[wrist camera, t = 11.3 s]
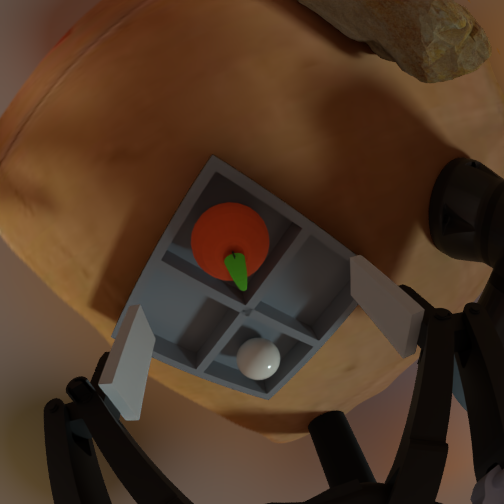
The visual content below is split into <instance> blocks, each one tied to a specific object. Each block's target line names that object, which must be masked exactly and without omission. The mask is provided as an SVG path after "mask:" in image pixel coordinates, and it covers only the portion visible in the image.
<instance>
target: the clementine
mask: <svg viewBox="0 0 504 504" xmlns="http://www.w3.org/2000/svg"><path fill="white" fill-rule="evenodd" d="M191 247H192V252H193V256H194V258H195V260H196V262H197V264H198V265H199V266H200V267H201V268H202V269H203V270H204V271H205V272H206V273H208V274H209V275H211V276H213V277H214V278H217V279H221V280H225V281H234V282H235V283H236V285H237V286H238V287H239V289H240V290H242V291H245V290H246V289H247V277H248V276H250V275H251V274H253V273H254V272H255V271H257V270H258V268H259V267H260V266H261V265H262V263H263V262H264V260H265V258H266V256H267V254H268V250H269V233H268V230H267V227H266V225H265V222H264V221H263V219H262V218H261V217H260V215H259V214H258V213H257V212H255V211H254V210H253V209H251V208H250V207H248V206H245V205H242V204H240V203H233V202H226V203H220V204H217V205H215V206H213V207H210V208H209V209H208V210H206V211H205V212H204V213H203V214H202V215H201V216H200V218H199V219H198V220H197V222H196V223H195V225H194V228H193V231H192V233H191Z"/></svg>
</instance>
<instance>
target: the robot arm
mask: <svg viewBox="0 0 504 504" xmlns="http://www.w3.org/2000/svg"><path fill="white" fill-rule="evenodd" d="M429 226H430V232H431V236H432V239H433V241H434V243H435V245H436V247H437V248H438V249H439V250H440V251H441V252H443V253H445V254H446V255H448V256H450V257H451V258H454V259H458V260H466V261H474V262H483V263H485V264H487V265H489V266H490V267H492V268H493V271H492V273H491V275H490V278H489V280H488V282H487V284H486V286H485V288H484V290H483V292H482V294H481V296H480V298H479V300H478V302H477V303H473V302H471V303H467V304H466V305H465V307H464V310H463V312H461V313H455V314H452V313H451V312H450V311H449V310H447V309H444V308H436V309H435V308H434V307H433V306H432V305H431V304H429V303H428V302H427V301H426V300H425V299H424V298H422V297H421V296H420V295H419V294H418V293H416V292H415V291H414V290H413V289H412V288H411V287H408V286H406V285H403V284H402V285H400V286H397V285H396V284H395V283H394V282H393V281H392V280H390V279H389V278H388V277H387V276H386V275H385V274H383V273H382V272H381V271H380V270H379V269H377V268H376V267H375V266H374V265H373V264H371V263H370V262H369V261H368V260H366V259H365V258H364V257H363V256H362V255H358V256H354V257H350V276H351V296H352V297H353V298H354V299H355V301H356V302H357V303H358V304H359V305H360V306H361V308H362V309H363V310H364V311H365V312H366V314H367V315H368V316H369V317H370V318H371V320H372V321H373V322H374V323H375V324H376V326H377V327H378V328H379V329H380V330H381V332H382V333H383V334H384V335H385V337H386V338H387V339H388V340H389V342H390V343H391V344H392V345H393V346H394V348H395V349H396V350H397V351H398V353H399V354H400V355H401V357H402V358H406V357H408V356H410V355H412V354H414V353H415V352H416V347H417V345H418V346H419V347H420V348H421V352H420V356H419V360H418V363H417V364H418V370H417V376H416V381H415V387H414V391H413V396H412V401H411V405H410V409H409V414H408V417H407V421H406V425H405V428H404V432H403V435H402V439H401V442H400V445H399V448H398V451H397V454H396V457H395V460H394V463H393V466H392V468H391V470H390V473H389V475H388V477H387V479H386V481H385V484H384V483H377V482H365V483H359V480H358V479H355V480H352V481H350V482H347V483H344V484H341V485H338V486H335V487H332V488H330V489H328V490H326V491H324V492H323V493H321V494H319V495H317V496H315V497H313V498H311V499H309V500H307V501H305V502H298V503H297V502H296V503H267V504H442V503H438V502H435V499H436V496H437V493H438V490H439V486H440V483H441V479H442V475H443V471H444V467H445V463H446V458H447V454H448V444H447V443H446V435H447V429H448V422H449V416H450V407H451V399H452V393H453V395H454V396H455V398H456V399H457V401H458V402H459V403H460V404H461V406H462V407H463V408H464V409H465V410H466V411H467V412H468V418H469V425H470V433H471V441H472V450H473V463H474V471H475V476H476V480H477V483H476V485H475V487H474V489H473V492H472V496H471V501H472V504H504V179H503V178H501V177H500V176H499V175H497V174H496V173H495V172H493V171H492V170H491V169H489V168H488V167H486V166H485V165H483V164H482V163H481V162H479V161H476V160H473V159H468V158H457V159H454V160H452V161H451V162H450V163H448V164H447V165H446V166H445V168H444V169H443V170H442V172H441V173H440V175H439V177H438V179H437V181H436V183H435V186H434V189H433V192H432V196H431V201H430V208H429ZM154 344H155V337H154V334H153V332H152V330H151V328H150V326H149V323H148V321H147V319H146V316H145V314H144V312H143V309H142V307H141V305H140V304H138V305H133V306H129V308H128V310H127V313H126V315H125V317H124V320H123V322H122V324H121V327H120V329H119V331H118V334H117V336H116V339H115V341H114V343H113V346H112V348H111V351H110V352H105V353H104V354H103V355H102V357H101V358H100V359H99V362H98V364H97V367H96V369H95V372H94V374H93V377H92V380H91V382H89V381H88V379H87V378H85V377H82V376H81V377H76V378H74V379H73V380H71V381H70V382H69V383H68V385H67V387H66V393H67V394H68V395H69V397H70V398H71V399H72V400H73V402H71V403H68V404H64V403H63V401H62V400H60V399H57V398H55V399H52V400H50V401H49V402H48V403H47V404H46V406H45V407H44V432H45V446H46V456H47V465H48V472H49V479H50V484H51V490H52V495H53V500H54V504H112V503H111V500H110V497H109V494H108V492H107V489H106V486H105V483H104V480H103V477H102V474H101V470H100V467H99V464H98V460H97V457H96V453H95V449H94V445H93V441H92V437H93V439H94V440H95V442H96V444H97V446H98V447H99V449H100V451H101V452H102V453H103V456H104V457H105V459H106V460H107V462H108V463H109V465H110V467H111V468H112V470H113V471H114V473H115V474H116V475H117V477H118V478H119V480H120V481H121V482H122V484H123V485H124V487H125V488H126V489H127V490H128V492H129V493H130V495H131V496H132V497H133V499H134V500H135V501H136V502H137V504H194V503H192V502H191V501H190V500H189V499H188V498H187V497H186V496H185V495H184V494H183V493H182V492H181V491H180V490H179V489H178V488H177V487H176V486H175V485H174V484H173V483H172V482H171V481H170V480H169V479H168V478H167V477H166V476H165V475H164V474H163V473H162V472H161V470H160V469H159V468H158V467H157V466H156V465H155V464H154V463H153V462H152V460H151V459H150V458H149V457H148V456H147V455H146V453H145V452H144V451H143V450H142V449H141V447H140V446H139V445H138V444H137V442H136V441H135V440H134V439H133V437H132V436H131V435H130V433H129V432H128V431H127V430H126V428H125V427H124V425H123V424H122V423H121V422H120V420H119V418H120V414H121V415H122V416H123V417H124V418H125V420H139V418H140V413H141V407H142V401H143V396H144V391H145V386H146V381H147V376H148V371H149V366H150V361H151V357H152V352H153V348H154Z"/></svg>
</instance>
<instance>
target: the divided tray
mask: <svg viewBox="0 0 504 504" xmlns="http://www.w3.org/2000/svg"><path fill="white" fill-rule="evenodd" d="M226 202H233V203H240V204H242V205H245V206H248V207H250V208H251V209H253V210H254V211H255V212H257V213H258V214H259V215H260V217H261V218H262V219H263V221H264V222H265V225H266V227H267V230H268V233H269V250H268V254H267V256H266V258H265V260H264V262H263V263H262V265H261V266H260V267H259V268H258V270H257V271H255V272H254V273H253V274H251V275H250V276H248V277H247V289H246V290H245V291H242V290H240V289H239V287H238V286H237V285H236V283H235V282H234V281H225V280H221V279H217V278H214V277H213V276H211V275H209V274H208V273H206V272H205V271H204V270H203V269H202V268H201V267H200V266H199V265H198V264H197V262H196V260H195V258H194V256H193V252H192V247H191V233H192V231H193V228H194V225H195V223H196V222H197V220H198V219H199V218H200V216H201V215H202V214H203V213H204V212H205V211H206V210H208V209H209V208H210V207H213V206H215V205H217V204H220V203H226ZM354 256H357V255H356V254H355V253H353V252H352V251H351V250H350V249H348V248H347V247H346V246H344V245H343V244H342V243H340V242H339V241H338V240H336V239H335V238H334V237H332V236H331V235H330V234H328V233H327V232H326V231H324V230H323V229H322V228H320V227H319V226H318V225H316V224H315V223H314V222H312V221H311V220H309V219H308V218H307V217H305V216H304V215H302V214H301V213H300V212H298V211H297V210H295V209H294V208H293V207H291V206H290V205H288V204H287V203H286V202H284V201H283V200H281V199H280V198H278V197H277V196H275V195H274V194H273V193H271V192H270V191H268V190H267V189H265V188H264V187H262V186H261V185H259V184H258V183H256V182H255V181H253V180H252V179H250V178H249V177H247V176H246V175H244V174H243V173H241V172H240V171H238V170H237V169H235V168H234V167H232V166H230V165H229V164H227V163H226V162H224V161H223V160H221V159H220V158H218V157H216V156H215V155H213V154H212V155H211V157H210V158H209V160H208V161H207V163H206V164H205V166H204V167H203V169H202V170H201V172H200V173H199V175H198V176H197V178H196V179H195V181H194V183H193V184H192V186H191V187H190V189H189V191H188V192H187V194H186V195H185V197H184V199H183V200H182V202H181V203H180V205H179V207H178V208H177V210H176V212H175V213H174V215H173V217H172V219H171V220H170V222H169V224H168V225H167V227H166V229H165V231H164V232H163V234H162V236H161V238H160V239H159V241H158V243H157V245H156V246H155V248H154V250H153V252H152V254H151V256H150V257H149V259H148V261H147V263H146V265H145V267H144V269H143V271H142V272H141V274H140V276H139V278H138V280H137V282H136V284H135V286H134V288H133V290H132V292H131V294H130V296H129V298H128V300H127V302H126V304H125V306H124V308H123V310H122V312H121V315H120V317H119V319H118V321H117V324H116V326H115V328H114V331H113V333H112V336H111V337H112V338H114V339H116V336H117V334H118V331H119V329H120V327H121V324H122V322H123V320H124V317H125V315H126V313H127V310H128V308H129V306H133V305H138V304H140V305H141V307H142V309H143V312H144V314H145V316H146V319H147V321H148V323H149V326H150V328H151V330H152V332H153V334H154V337H155V344H154V348H153V352H152V357H153V358H155V359H157V360H159V361H162V362H164V363H166V364H168V365H171V366H173V367H175V368H178V369H180V370H183V371H185V372H188V373H190V374H193V375H195V376H198V377H200V378H203V379H206V380H208V381H211V382H214V383H217V384H220V385H222V386H225V387H228V388H231V389H234V390H237V391H240V392H243V393H247V394H250V395H253V396H256V397H260V398H263V399H267V400H269V399H270V398H271V397H272V396H273V395H274V394H275V393H277V392H278V391H279V390H280V389H281V388H282V387H283V386H284V385H285V384H286V383H287V382H288V381H289V380H290V379H291V378H292V377H293V376H294V375H295V374H296V373H297V372H298V371H299V370H300V369H301V368H302V367H303V366H304V365H305V364H306V363H307V362H308V361H309V360H310V359H311V358H312V356H313V355H314V354H315V353H316V352H317V351H318V350H319V349H320V348H321V347H322V346H323V345H324V344H325V342H326V341H327V340H328V339H329V338H330V337H331V336H332V335H333V333H334V332H335V331H336V330H337V329H338V328H339V327H340V325H341V324H342V323H343V322H344V321H345V320H346V318H347V317H348V316H349V315H350V314H351V313H352V311H353V310H354V309H355V308H356V307H357V305H358V303H357V302H356V301H355V299H354V298H353V297H352V296H351V276H350V257H354ZM252 338H265V339H268V340H270V341H271V342H273V343H274V344H275V345H276V347H277V348H278V350H279V353H280V364H279V367H278V369H277V371H276V372H275V373H274V374H273V375H272V376H270V377H269V378H266V379H263V380H253V379H250V378H248V377H246V376H245V375H243V374H242V373H241V371H240V370H239V368H238V366H237V362H236V356H237V352H238V350H239V348H240V346H241V345H242V344H243V343H244V342H246V341H247V340H249V339H252Z"/></svg>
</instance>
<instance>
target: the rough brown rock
mask: <svg viewBox="0 0 504 504" xmlns="http://www.w3.org/2000/svg"><path fill="white" fill-rule="evenodd" d="M298 1H299V2H300V3H301V4H303V5H305V6H306V7H308V8H309V9H311V10H312V11H314V12H316V13H317V14H319V15H320V16H321V17H322V18H323V19H325V20H326V21H327V22H329V23H331V24H332V25H333V26H334V27H335V28H336V29H338V30H339V31H340V32H342V33H343V34H344V35H346V36H347V37H349V38H350V39H354V40H356V41H358V42H363V41H364V42H365V43H367V44H368V45H369V47H370V49H371V50H372V51H373V52H374V53H375V54H377V55H378V56H379V57H380V58H382V59H385V60H388V61H392V62H396V63H397V64H398V66H399V67H400V68H401V69H402V70H403V71H404V72H406V73H408V74H409V75H411V76H413V77H415V78H417V79H418V80H419V81H421V82H424V83H436V82H444V81H448V80H453V79H454V78H457V77H460V76H462V75H465V74H468V73H471V72H474V71H476V70H477V69H478V68H479V67H480V66H481V65H482V63H484V62H485V61H486V60H487V59H488V58H489V57H490V56H491V45H490V42H489V40H488V38H487V36H486V34H485V32H484V30H483V28H482V27H481V26H480V25H479V24H478V22H477V21H476V20H475V19H474V18H473V16H472V15H471V14H470V12H469V11H468V10H467V9H466V8H465V7H463V6H461V5H459V4H457V3H455V2H454V1H453V0H298Z"/></svg>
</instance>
